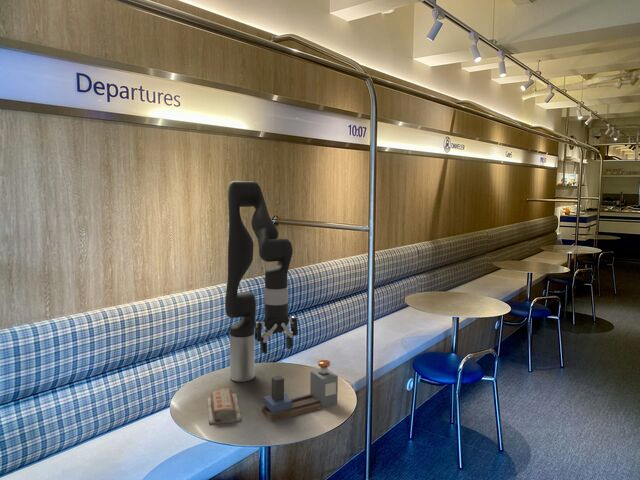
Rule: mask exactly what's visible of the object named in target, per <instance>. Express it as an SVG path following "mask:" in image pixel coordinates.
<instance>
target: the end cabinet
mask: <svg viewBox="0 0 640 480" xmlns="http://www.w3.org/2000/svg"><path fill="white" fill-rule="evenodd" d="M338 380H339V376H338V375H337V374H336V373H334V372H333V371H331V370H329V369H328V375H325V376H322V375H321V368H319V369H314V370H310V387H309V388H310V392H309V394H311V395H312V398H314V399H315V400H319V401H320V402H319V403H320V404H321V409H323V408H328V407H331V406H335V405H338V392H339V391H338V389H339V385H338V383H339V382H338Z"/></svg>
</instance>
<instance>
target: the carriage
mask: <svg viewBox="0 0 640 480" xmlns="http://www.w3.org/2000/svg"><path fill="white" fill-rule="evenodd" d="M262 399H263V403H262V404H263V406H264V405H265V406H266V407H267V408H268V409H269V410H270V411H271V412H272V413H274V412H278V411H282V410H285V409H289V408H292V400H291V399H292V398H290V397H289V396H288V395H287V394H286V393H285V378H284V377H282V376H281V375H275V376H272V377H271V394H270V395H267V396H263V398H262Z"/></svg>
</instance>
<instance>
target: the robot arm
mask: <svg viewBox="0 0 640 480" xmlns="http://www.w3.org/2000/svg"><path fill="white" fill-rule="evenodd" d="M227 200H228V201H227V202H228V221H229V222H228V224H229V225H228V240H227V241H228V243H227V282H226V290H225V291H226V293H225V300H224V301H225V302H224V304H225V306H224V307H225V314H226V316H227V317H228V318H230V319H235V318H241V319H240V320H239V321H238V322H236V323H234V324H233V325H231V326H230V328H229V347H230V348H229V365H230V366H229V367H230V368H229V369H230V370H229V371H230V373H229V374H230V375H229V376H230V377H229V378H230V380H232V381H235V382H242V383H243V382H248V381H251V380H254V378H255V364H256V363H255V341H257V342H258V343H259V342H260V352H262V354H264V355H266V354H268V342H267V341H268V339H269V338H270V337H271V336H272V335H275V334H279V333H280V334H282V333H284V334H285V336H286V337H285V347H286V349H287V350H292V347H293V338H294V337H295V336H297V335H298V334H299V329H298V328H299V327H298V318H297V317H296V316H294V315H291V316H290V317H289V293H288V291H289V290H288V272H289V269H290V264H291V261H292V257H293V251H294V250H293V245H292V242H291V241H290V240H289V239H287V238H278V237H279V231H278V229H277V228H276V227H277V226H275V223H274V222H273V220H272V218H271V216H270V213H269V211H268V207H267V205H266V200H265V198H264V195H263V190H262V189H261V186H260V185H259V183H258V182H256V181H252V180H251V181H250V180H249V181H248V180H246V181H245V180H232V181H231V182H230V183H229V185H228V189H227ZM241 207H242V208H243V207H245V208H248V207H249V208H250V207H253V208H254V209H255V210H254V212H253V215H252V217H251V221H250V222H251V223H250V224H251V228H252V231H253V232H254V234H255V237H256V239H257V243H258V244H257V245H258V254H259V257H260V259H261V260H263V261H264V262H267V263H271V262H273V263H274V262H277V263H276V266H274V267H271V268H268V269H267V270H265V272H264V301H263V302H264V321H257V320H256V314H257V311H256V310H257V300H256V297H255V295H254V293H253V292H252V291H243V292H239V287H240V284H241V281H242V279H243V277H244V276H245V274H247V273H246V272H247V271H248V270H249V268H250V267H251V265H252V262H253V260H254V245H255V244H254V241H253V238H252V237H251V234H250V232H249V231H248V230H247V227H246V226H245V224H244V223H243V222H244V221H243V220H242V216H241V209H240V208H241ZM289 324H290V329H289V328H288V325H289ZM264 327H265V328H264ZM262 329H263V331H262Z"/></svg>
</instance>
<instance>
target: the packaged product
mask: <svg viewBox="0 0 640 480" xmlns="http://www.w3.org/2000/svg"><path fill="white" fill-rule="evenodd" d="M207 410H208V411H207V412H208V413H207V414H208V423H209V425H217V424H219V425H220V424H228V423H235V422H236V423H237V422H241V421H242V420H241V419H242V415H241V410H240V405H239V400H238V395H237V393H232V389H231V388H229V387H223V388H220V389H217V390H214V391H212V392H211V393H210V397H207Z"/></svg>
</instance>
